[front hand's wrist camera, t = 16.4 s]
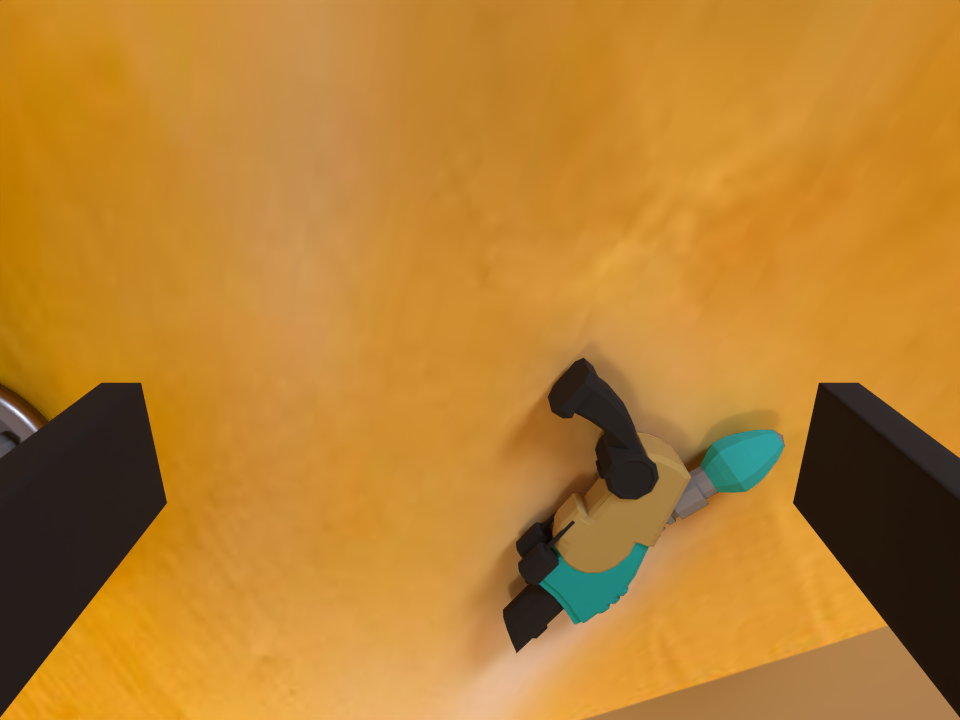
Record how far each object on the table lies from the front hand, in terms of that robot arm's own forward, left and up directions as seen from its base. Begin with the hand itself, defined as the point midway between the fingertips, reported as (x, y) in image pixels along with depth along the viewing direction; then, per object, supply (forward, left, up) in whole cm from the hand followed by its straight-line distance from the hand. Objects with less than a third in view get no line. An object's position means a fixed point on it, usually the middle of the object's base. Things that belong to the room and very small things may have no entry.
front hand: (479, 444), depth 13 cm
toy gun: (-18, -13, -30) cm, 37 cm away
